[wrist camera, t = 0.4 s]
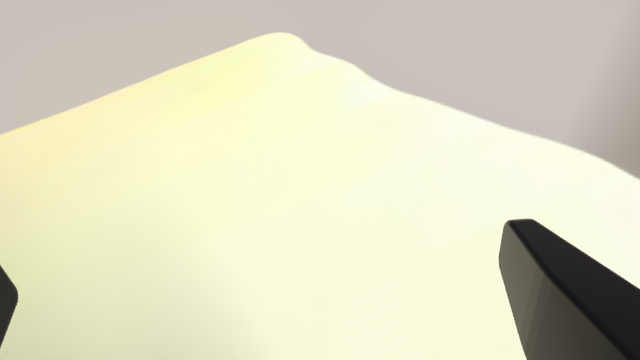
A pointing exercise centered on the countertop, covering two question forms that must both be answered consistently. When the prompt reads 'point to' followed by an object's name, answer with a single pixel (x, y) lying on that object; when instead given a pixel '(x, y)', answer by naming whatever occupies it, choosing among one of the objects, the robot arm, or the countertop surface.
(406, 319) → the countertop surface
